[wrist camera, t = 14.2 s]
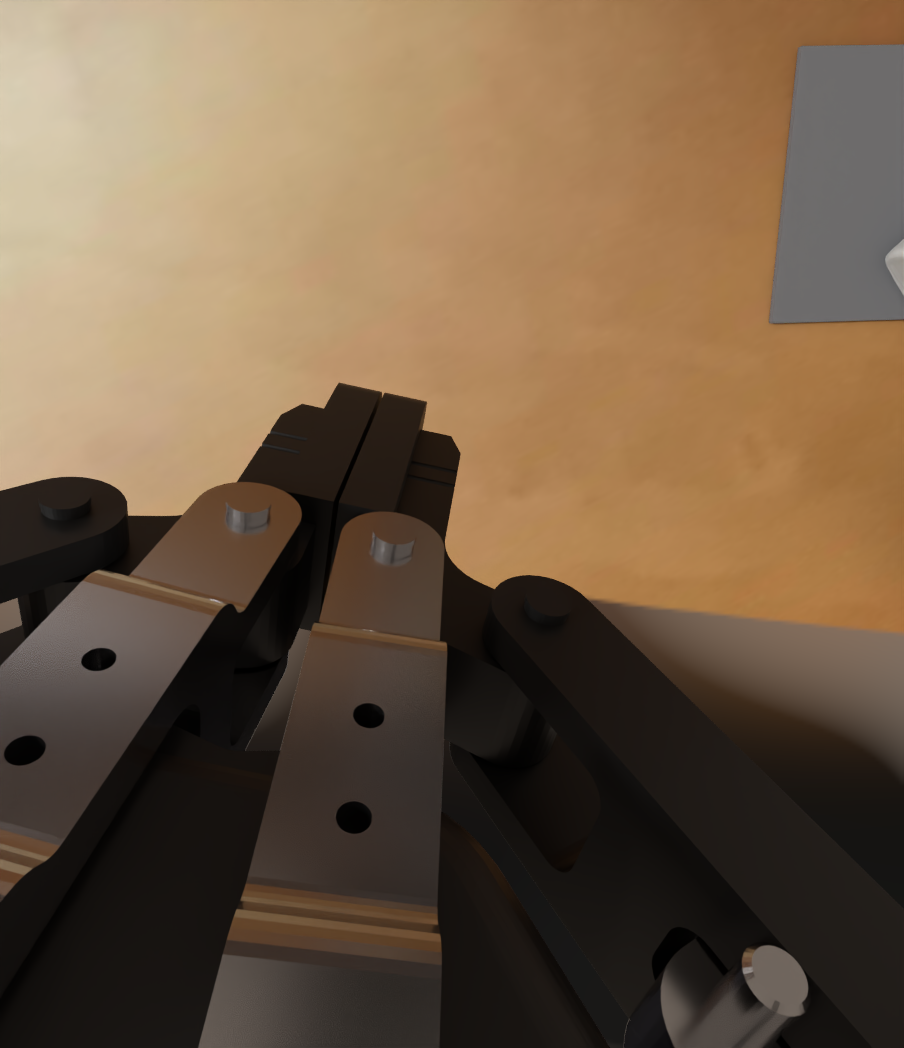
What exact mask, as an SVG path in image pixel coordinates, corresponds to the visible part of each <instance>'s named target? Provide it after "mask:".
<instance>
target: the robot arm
mask: <svg viewBox="0 0 904 1048" xmlns="http://www.w3.org/2000/svg"><path fill="white" fill-rule="evenodd" d="M426 406H427V402H425V401H421V400H416V399H412V398H407V397H403V396H398V395H393V394H389V393H384V395H383V397H382V392H379V391H375V390H370V389H365V388H361V387H356V386H352V385H347V384H343V383H338V385H337V386H336V388H335V390H334V392H333V394H332V395H331V397H330V399H329V401H328V403H327V404H326V406H325V408H324V409H323V408H318V407H314V406H309V405H305V404H301V405H299V406H297V407H295V408H293V409H291V410H290V411H288V412H286V413H284V414H282V415H281V416H280V417H279V419H278V420H277V422H276V423H275V425H274V426H273V428H272V429H271V432H270V434H268V435H267V437H266V438H265V440H264V441H263V443H262V447H261V446H260V448H259V449H258V451H257V452H256V454H255V455H254V457H253V458H252V460H251V461H250V463H249V464H248V466H247V467H246V469H245V470H244V472H243V473H242V475H241V477H240V478H239V480H238V481H237V482H236V483H228V484H223V485H220V486H216V487H214V488H211V489H209V490H207V491H206V492H204V493H203V494H202V495H201V496H199V497H198V498H197V500H196V501H195V502H194V503H193V504H192V505H191V506H190V507H189V509H188V510H187V511H186V512H185V513H184V514H183V515H179V516H128V511H127V501H126V499H125V496H124V495H123V494H122V493H121V492H120V491H119V490H118V489H117V488H115V487H113V486H112V485H110V484H108V483H105V482H102V481H99V480H95V479H90V478H83V477H59V478H51V479H46V480H41V481H37V482H33V483H29V484H26V485H22V486H18V487H14V488H10V489H6V490H2V491H0V603H3V602H6V601H9V600H12V599H15V598H18V603H19V609H20V615H21V620H22V626H19V627H17V628H14V629H11V630H9V631H6V632H3V633H1V634H0V1048H610V1047H609V1045H608V1043H607V1042H606V1040H605V1039H604V1037H603V1035H602V1034H601V1032H600V1030H599V1029H598V1027H597V1026H596V1024H595V1022H594V1021H593V1019H592V1017H591V1016H590V1014H589V1013H588V1011H587V1009H586V1008H585V1006H584V1005H583V1003H582V1001H581V1000H580V998H579V996H578V995H577V993H576V992H575V990H574V988H573V987H572V985H571V984H570V982H569V981H568V979H567V977H566V976H565V974H564V972H563V971H562V969H561V967H560V966H559V964H558V963H557V961H556V959H555V958H554V956H553V954H552V953H551V951H550V950H549V948H548V946H547V945H546V943H545V941H544V940H543V938H542V937H541V935H540V934H539V932H538V930H537V929H536V927H535V925H534V924H533V922H532V920H531V919H530V917H529V916H528V914H527V912H526V911H525V909H524V908H523V906H522V904H521V903H520V901H519V899H518V898H517V896H516V895H515V893H514V891H513V890H512V888H511V886H510V885H509V883H508V882H507V880H506V878H505V877H504V875H503V874H502V872H501V871H500V869H499V868H498V866H497V865H496V864H495V862H494V861H493V860H492V858H491V857H490V856H489V855H488V853H486V851H485V850H484V849H483V847H482V846H481V845H480V844H479V843H478V842H477V841H476V840H475V839H474V838H473V837H472V836H471V835H470V834H469V833H468V832H467V831H466V830H465V829H464V828H463V827H462V826H460V825H459V824H458V823H456V822H455V821H454V820H453V819H451V818H450V817H449V816H448V815H446V814H445V813H443V812H441V798H442V773H443V772H442V771H443V748H444V746H443V745H444V739H446V740H448V741H450V755H451V758H452V761H453V763H454V765H455V767H456V768H457V770H458V771H459V773H460V774H461V776H462V777H463V779H464V780H465V782H466V783H467V785H468V786H469V787H470V789H471V790H472V792H473V793H474V795H475V796H476V798H477V799H478V800H479V802H480V803H481V805H482V806H483V808H484V809H485V811H486V812H487V813H488V815H489V816H490V818H491V819H492V821H493V822H494V824H495V825H496V827H497V828H498V829H499V831H500V832H501V834H502V835H503V837H504V838H505V840H506V841H507V843H508V844H509V845H510V847H511V848H512V850H513V851H514V853H515V854H516V856H517V857H518V858H519V860H520V861H521V863H522V864H523V866H524V867H525V869H526V870H527V872H528V873H529V874H530V876H531V877H532V879H533V880H534V882H535V883H536V885H537V886H538V888H539V889H540V890H541V892H542V893H543V895H544V896H545V897H546V899H547V901H548V902H549V903H550V905H551V906H552V908H553V909H554V911H555V912H556V913H557V915H558V917H559V918H560V919H561V921H562V922H563V924H564V925H565V927H566V928H567V929H568V931H569V932H570V934H571V935H572V937H573V938H574V939H575V941H576V942H577V944H578V945H579V947H580V948H581V950H582V951H583V953H584V954H585V956H586V957H587V959H588V960H589V961H590V963H591V964H592V966H593V967H594V968H595V970H596V971H597V973H598V974H599V976H600V977H601V979H602V980H603V982H604V983H605V985H606V986H607V988H608V989H609V990H610V992H611V993H612V995H613V996H614V998H615V999H616V1001H617V1002H618V1004H619V1005H620V1006H621V1008H622V1009H623V1011H624V1012H625V1014H626V1015H627V1017H628V1018H629V1021H628V1024H627V1027H626V1032H625V1036H624V1048H904V909H903V908H902V907H901V906H900V905H899V904H898V903H897V902H896V901H895V900H894V899H893V898H892V897H891V896H890V895H889V894H888V893H887V892H886V891H885V890H884V889H883V888H882V887H881V886H880V885H879V884H877V882H875V881H874V880H873V879H872V878H871V877H870V876H869V875H868V874H867V873H866V872H865V871H864V870H863V869H862V868H861V867H860V866H859V865H858V864H857V863H856V862H855V861H854V860H853V859H852V858H851V857H850V856H849V855H848V854H847V853H846V852H845V851H844V850H843V849H842V848H841V847H840V846H839V845H838V844H837V843H836V842H835V841H834V840H833V839H831V838H830V836H828V835H827V834H826V833H825V832H824V831H823V830H822V829H821V828H820V827H819V826H818V825H817V824H816V823H815V822H814V821H813V820H812V819H811V818H810V817H809V816H808V815H807V814H806V813H805V812H804V811H803V810H802V809H801V808H800V807H799V806H798V805H797V804H796V803H795V802H794V801H793V800H792V799H791V798H790V797H789V796H788V795H787V794H786V793H784V791H783V790H781V789H780V788H779V787H778V786H777V785H776V784H775V783H774V782H773V781H772V780H771V779H770V778H769V777H768V776H767V775H766V774H765V773H764V772H763V771H762V770H761V769H760V768H759V767H758V766H757V765H756V764H755V763H754V762H753V761H752V760H751V759H750V758H749V757H748V756H747V755H746V754H745V753H744V752H743V751H742V750H740V748H739V747H738V746H736V744H734V743H733V742H732V741H731V740H730V739H729V738H728V737H727V736H726V735H725V734H724V733H723V732H722V731H721V730H720V729H719V728H718V727H717V726H716V725H715V724H714V723H713V722H712V721H711V720H710V719H709V718H708V717H707V716H706V715H705V714H704V713H703V712H702V711H701V710H700V709H699V708H698V707H697V706H696V705H695V704H693V702H691V700H690V699H689V698H688V697H686V695H684V694H683V693H682V692H681V691H680V690H679V689H678V688H677V687H676V686H675V685H674V684H673V683H672V682H671V681H670V680H669V679H668V678H667V677H666V676H665V675H664V674H663V673H662V672H661V671H660V670H659V669H658V668H657V667H656V666H655V665H654V664H653V663H652V662H651V661H650V660H649V659H648V658H647V657H646V656H645V655H643V653H642V652H641V651H639V649H638V648H636V647H635V646H634V645H633V644H632V643H631V642H630V641H629V640H628V639H627V638H626V637H625V636H624V635H623V634H622V633H621V632H620V631H619V630H618V629H617V628H616V627H615V626H614V625H613V624H612V623H611V622H610V621H609V620H608V619H607V618H606V617H605V616H604V615H603V614H602V613H601V612H600V611H599V610H598V609H597V608H596V607H594V605H593V604H592V603H591V602H590V601H588V600H587V599H586V598H585V597H584V596H583V595H582V594H581V593H579V592H578V591H576V590H575V589H573V588H572V587H570V586H568V585H566V584H564V583H562V582H559V581H557V580H554V579H550V578H547V577H541V576H532V575H525V576H517V577H513V578H510V579H507V580H505V581H503V582H502V583H500V584H499V585H498V586H497V587H496V589H493V588H490V587H488V586H486V585H484V584H482V583H480V582H478V581H476V580H474V579H472V578H470V577H469V576H467V575H466V574H464V573H463V572H462V571H461V570H460V569H458V568H457V567H456V566H455V564H454V563H453V562H452V561H451V559H450V558H449V556H448V554H447V552H446V548H445V537H446V531H447V526H448V520H449V515H450V509H451V504H452V498H453V493H454V487H455V482H456V476H457V471H458V465H459V460H460V452H459V450H458V448H457V446H456V444H455V443H454V441H453V439H452V437H451V436H447V435H443V434H438V433H434V432H429V431H424V430H422V428H423V423H424V417H425V412H426ZM299 628H301V629H305V630H310V631H311V634H310V637H309V641H308V645H307V649H306V653H305V657H304V660H303V664H302V668H301V672H300V676H299V680H298V684H297V688H296V691H295V695H294V700H293V703H292V707H291V711H290V715H289V719H288V723H287V726H286V730H285V734H284V738H283V742H282V746H281V749H280V751H245V750H246V748H247V746H248V744H249V742H250V740H251V738H252V736H253V734H254V732H255V730H256V728H257V726H258V724H259V722H260V720H261V718H262V716H263V714H264V712H265V710H266V708H267V706H268V704H269V702H270V700H271V698H272V696H273V694H274V692H275V690H276V688H277V687H278V685H279V682H280V680H281V679H282V677H283V675H284V673H285V670H286V668H287V663H288V653H289V649H290V648H291V646H292V644H293V642H294V640H295V637H296V635H297V632H298V630H299Z"/></svg>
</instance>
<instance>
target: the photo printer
mask: <svg viewBox="0 0 904 1048" xmlns="http://www.w3.org/2000/svg"><path fill="white" fill-rule="evenodd" d="M885 262H886V265H887V267H888V269H889V271H890V273H891V275H892V277H893V279H894V281H895V282H896V284H897V286H898V287H899V289H900V290H901V292H902V294H903V295H904V239H903V240H902V241H901V242H900V243H899V244H898V245H896V246H895V247H894V248H893V249H892V250H891V251H890V252H889V253H888V254H887V256H886V258H885Z"/></svg>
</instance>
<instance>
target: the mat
mask: <svg viewBox="0 0 904 1048" xmlns="http://www.w3.org/2000/svg"><path fill="white" fill-rule="evenodd" d="M903 239H904V45H841V46H801V47H799V48H798V54H797V64H796V73H795V83H794V92H793V101H792V111H791V120H790V130H789V139H788V148H787V158H786V167H785V177H784V186H783V195H782V205H781V214H780V224H779V233H778V243H777V252H776V261H775V271H774V280H773V290H772V299H771V308H770V318H769V323H798V322H831V321H864V320H898V319H904V295H903V294H902V292H901V290H900V289H899V287H898V286H897V284H896V282H895V281H894V279H893V277H892V275H891V273H890V271H889V269H888V267H887V265H886V262H885V258H886V256H887V254H888V253H889V252H890V251H891V250H892V249H893V248H894V247H895V246H896V245H898V244H899V243H900V242H901V241H902V240H903Z"/></svg>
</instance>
